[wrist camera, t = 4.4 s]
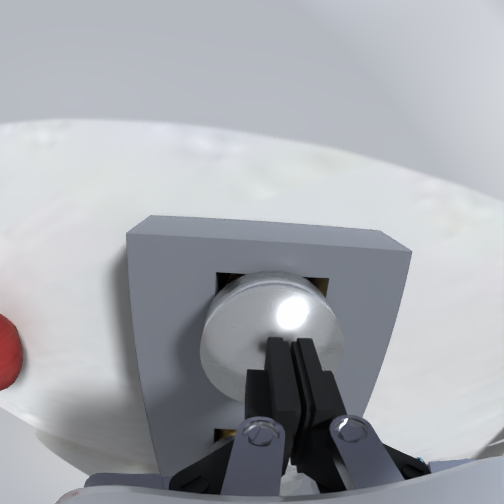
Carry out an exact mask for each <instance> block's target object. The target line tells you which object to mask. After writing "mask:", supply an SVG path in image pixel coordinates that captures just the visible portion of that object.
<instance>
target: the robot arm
mask: <svg viewBox="0 0 504 504" xmlns="http://www.w3.org/2000/svg"><path fill="white" fill-rule="evenodd" d="M289 458H290V462H291V465H292V466H295V465H296V468H297V473H304V474H305V475H306V476H308V477H310V485H311V488H312V490H313V493H314V494H313V495H297V496H279V493H280V484H281V477H282V476H284V475H285V472H286V469H287V466H288V462H289ZM55 504H504V456H497V457H490V458H485V459H480V460H476V459H462V460H450V461H435V462H429V463H428V464H427V465H426V464H425V463H423V462H422V461H420V460H418V459H416V458H413V457H411V456H409V455H407V454H405V453H402V452H400V451H398V450H396V449H394V448H392V447H389V446H387V445H385V444H383V443H382V442H381V440H380V439H379V437H378V436H377V434H376V432H375V431H374V429H373V427H372V426H371V425H370V423H369V422H368V421H366V420H365V419H363V418H362V417H359V416H356V415H347V412H346V409H345V406H344V403H343V400H342V398H341V395H340V392H339V389H338V386H337V383H336V381H335V378H334V375H333V373H332V371H330V370H328V371H323V370H322V367H321V364H320V361H319V358H318V355H317V352H316V349H315V346H314V342H313V340H312V338H297V340H296V341H292V342H291V347H290V348H289V343H288V341H283V337H268V340H267V348H266V357H265V365H264V370H256V369H247V374H246V386H245V419H244V421H243V422H242V423H241V424H240V425H239V427H238V429H237V432H236V436H235V439H234V440H232V441H230V442H229V443H227V444H226V445H224V446H222V447H221V448H219V449H217V450H216V451H214V452H212V453H211V454H209V455H207V456H206V457H204V458H202V459H201V460H199V461H197V462H195V463H194V464H192V465H190V466H188V467H186V468H185V469H183V470H181V471H179V472H178V473H176V474H175V475H174V476H165V477H162V474H120V473H96V474H94V475H92V476H90V477H89V478H88V479H87V480H86V482H85V485H84V488H79V489H76V490H73V491H70V492H68V493H66V494H65V495H63V496H62V497H61V498H60V499H59V500H58V501H57V502H56V503H55Z"/></svg>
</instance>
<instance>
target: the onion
mask: <svg viewBox="0 0 504 504" xmlns="http://www.w3.org/2000/svg"><path fill="white" fill-rule="evenodd" d="M22 361H23V358H22V349H21V344H20V341H19V338H18V334H17V329H16V327H15V326H14V324H13V323H12V322H10V321H9V320H8V319H7V318H5V317H4V316H3V315H2V314H0V391H1V390H3V389H6V388H8V387H9V386H10V385H12V384H13V383H14V382H15V380H16V378H17V377H18V375H19V373H20V370H21V367H22Z"/></svg>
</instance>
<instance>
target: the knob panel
mask: <svg viewBox="0 0 504 504" xmlns="http://www.w3.org/2000/svg"><path fill="white" fill-rule="evenodd" d="M126 242H127V263H128V279H129V292H130V303H131V314H132V323H133V332H134V340H135V348H136V355H137V362H138V369H139V375H140V381H141V387H142V393H143V399H144V404H145V409H146V414H147V419H148V424H149V429H150V434H151V438H152V442H153V447H154V451H155V455H156V459H157V463H158V467H159V471H160V474H162V477H165V476H174V475H175V474H176V473H178V472H179V471H181V470H183V469H185V468H186V467H188V466H190V465H192V464H194V463H195V462H197V461H199V460H201V459H202V458H204V457H206V456H207V453H208V450H209V449H210V447H211V446H212V445H213V444H214V443H216V442H217V441H219V436H220V431H217V429H233V430H237V429H238V427H239V425H240V424H241V423H242V422H243V421H244V419H245V403H242V402H239V401H237V400H234V399H232V398H230V397H228V396H227V395H225V394H224V393H222V392H221V391H220V390H218V389H217V388H216V387H215V386H214V385H213V384H212V383H211V381H210V380H209V379H208V377H207V375H206V374H205V372H204V369H203V367H202V364H201V360H200V343H201V338H202V334H203V329H204V324H205V319H206V315H207V311H208V309H209V307H210V305H211V303H212V301H213V299H214V298H215V297H216V296H217V294H218V293H219V292H220V272H224V273H240V274H250V273H254V272H259V271H266V270H277V271H285V272H289V273H293V274H296V275H298V276H301V277H308V281H310V282H311V283H312V284H314V285H315V286H316V287H317V288H318V289H319V290H320V291H321V292H322V294H323V295H324V297H325V298H326V300H327V302H328V304H329V306H330V307H331V309H332V311H333V313H334V315H335V317H336V319H337V321H338V323H339V325H340V327H341V330H342V333H343V340H344V349H343V354H342V358H341V361H340V364H339V366H338V368H337V370H336V371H335V373H334V374H333V375H334V378H335V381H336V383H337V386H338V389H339V392H340V395H341V398H342V400H343V403H344V406H345V409H346V412H347V415H356V416H359V417H363V414H364V412H365V409H366V407H367V404H368V402H369V399H370V396H371V394H372V391H373V388H374V386H375V383H376V380H377V377H378V375H379V372H380V369H381V366H382V363H383V360H384V357H385V354H386V351H387V348H388V344H389V341H390V338H391V335H392V331H393V328H394V324H395V321H396V317H397V314H398V310H399V306H400V302H401V299H402V295H403V291H404V287H405V282H406V278H407V274H408V269H409V265H410V260H411V255H412V251H411V250H410V249H408V248H406V247H405V246H403V245H402V244H400V243H399V242H397V241H396V240H394V239H392V238H391V237H389V236H388V235H386V234H384V233H383V232H381V231H377V230H366V229H355V228H343V227H331V226H319V225H306V224H293V223H279V222H264V221H249V220H233V219H216V218H197V217H177V216H154V215H151V216H149V217H148V218H146V219H145V220H144V221H142V222H141V223H139V224H138V225H137V226H135V227H134V228H133V229H131V230H130V231H129V232H127V233H126ZM302 475H303V480H302V483H301V485H300V486H299V487H298V488H297V489H296V490H295V491H294V492H292V493H291V494H289V495H287V496H297V495H313V494H314V493H313V490H312V488H311V485H310V477H308V476H306V475H305V474H304V473H302Z"/></svg>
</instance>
